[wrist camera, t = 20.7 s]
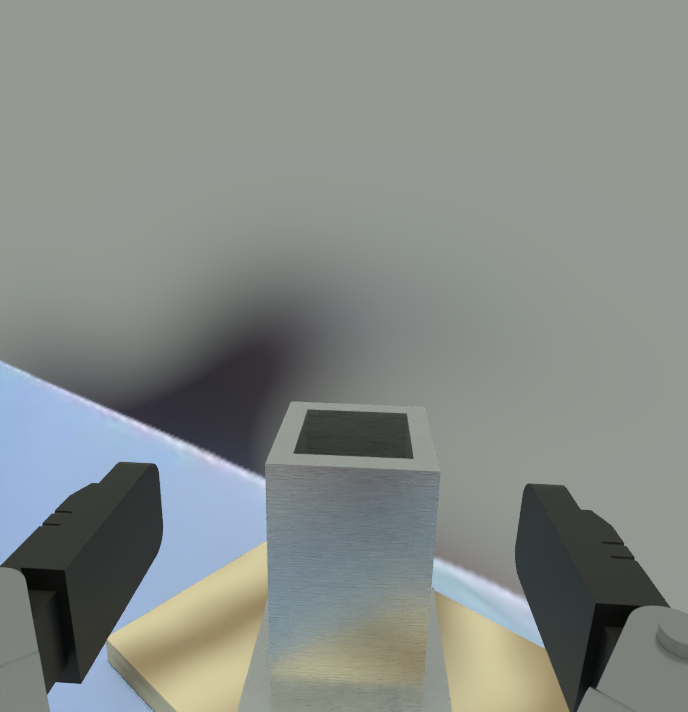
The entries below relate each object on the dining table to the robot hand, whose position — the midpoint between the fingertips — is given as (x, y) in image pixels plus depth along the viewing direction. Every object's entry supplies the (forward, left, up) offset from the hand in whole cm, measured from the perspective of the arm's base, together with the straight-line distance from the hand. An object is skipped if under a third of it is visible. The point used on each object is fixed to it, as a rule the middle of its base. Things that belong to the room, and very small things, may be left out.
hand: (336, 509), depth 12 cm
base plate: (-6, +9, -16) cm, 20 cm away
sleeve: (-6, +9, -15) cm, 18 cm away
